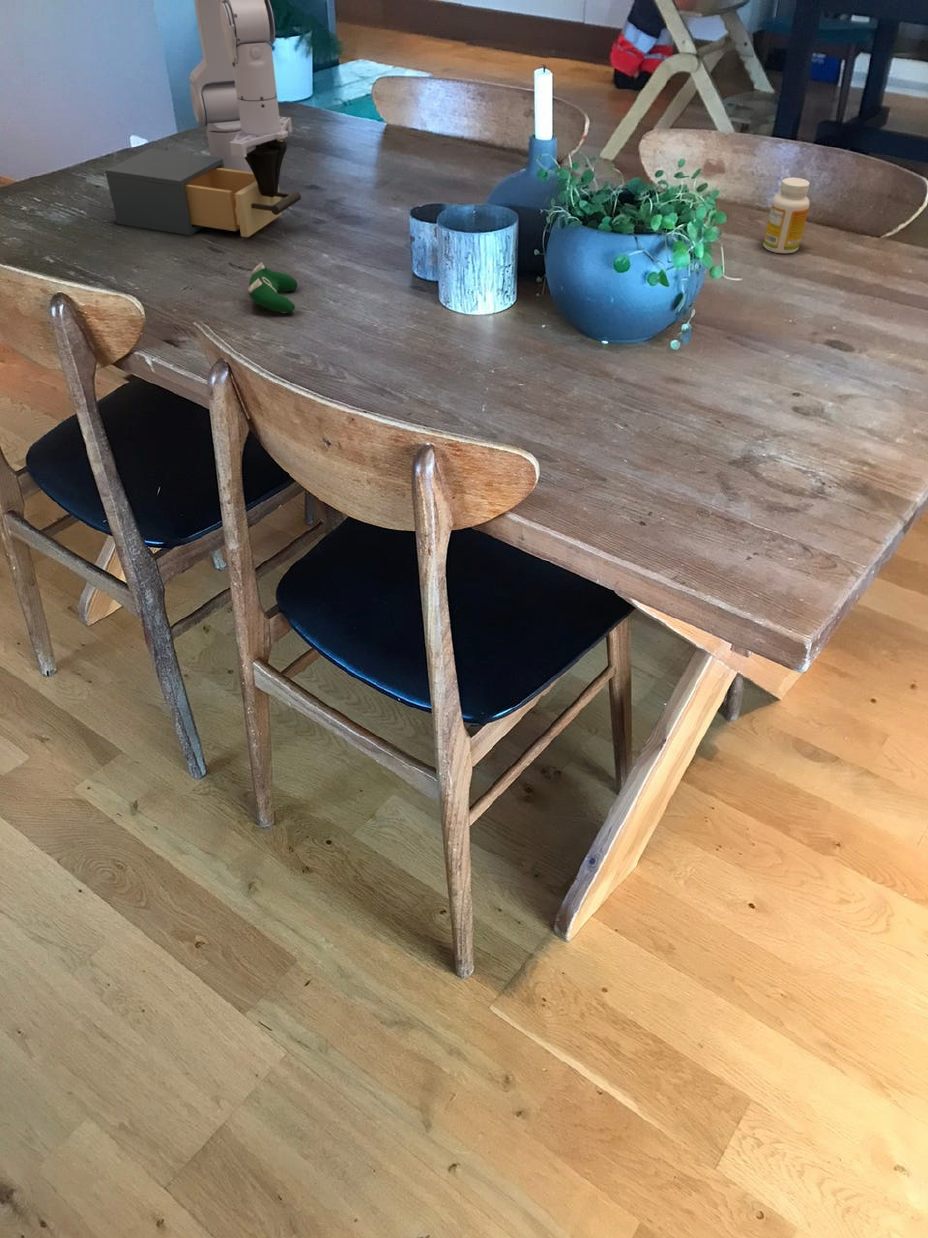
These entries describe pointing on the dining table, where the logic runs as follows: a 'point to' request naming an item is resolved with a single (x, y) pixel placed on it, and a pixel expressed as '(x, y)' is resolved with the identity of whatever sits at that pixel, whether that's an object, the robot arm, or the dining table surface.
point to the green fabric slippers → (271, 289)
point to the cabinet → (157, 189)
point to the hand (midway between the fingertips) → (269, 194)
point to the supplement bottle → (787, 216)
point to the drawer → (216, 202)
